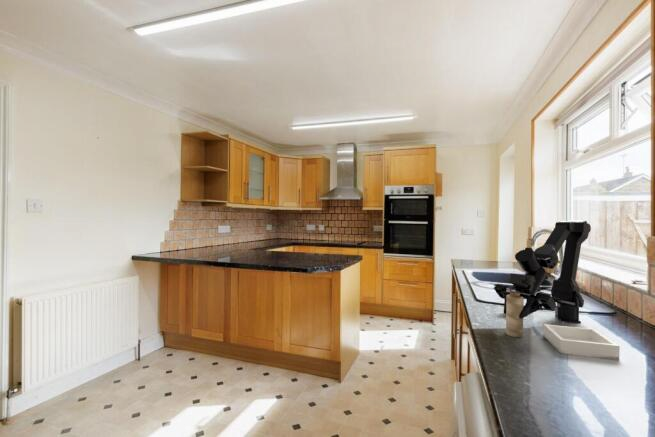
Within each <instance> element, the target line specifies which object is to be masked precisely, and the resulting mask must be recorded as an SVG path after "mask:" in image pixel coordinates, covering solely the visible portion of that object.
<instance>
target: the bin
mask: <svg viewBox="0 0 655 437" xmlns="http://www.w3.org/2000/svg"><path fill="white" fill-rule="evenodd" d="M543 338H545V339H546V340H547V341H548V342H549V343H550V344H551V345H552V346H553V347H554V349H555V350H557V351H558V352H559V353H560V354H564V355H571V354H572V355H573V356H579V357H588V358H589V357H590V358H598V359H606V360H613V361H620V345H619V344H617V343H616V342H614V341H613V340H611V339H610V338H608V337H607V336H605V335H604V334H602V333H600V332H599V331H598V330H596V329H595V328H589V327H588V328H586V327H577V326H565V325H557V324H547V323H543ZM572 355H571V356H572Z"/></svg>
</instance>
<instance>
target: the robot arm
mask: <svg viewBox="0 0 655 437" xmlns="http://www.w3.org/2000/svg"><path fill="white" fill-rule="evenodd" d="M591 230H592V227H591V224H590V223H588V221H586V220H566V221H565V220H561V221H560V220H559V221H557V222H555V226H554V228H553V230H552V231H551V233H550V234H549V236H548V238H547V239H546V240H545V242H544V243H543V245H541V246H540V247H537V248H535V250H534V249H533V248H532V247H525V248H524V249H521V250H519V251H518V252H516V253H515V255H514V259H515V260H516V262H517V263H518V265H519V267H520V268H521V270H522V271H524V272H525V273H524V275H523V274H517V273H511V272H510V274H509V277H508V280H507V283H509V284H512V287H513V289H515V290H513V289H511V288H510V287H509V285H508V284H504V283H503V284H502V283H496V284H495V286H493V290H494V291H495V293H496V294H497V296H498V297H499V298H501V299H503V300H504V303H503V304H504V305H503V314H504V315H506V295H510V291H516V292H520V296H522V297H524V300H526V302H525V304H524V306H523V309H522V311H521V313H520V315H519V318H520V319H522V318H523V319H524V318H526V317H528V316H529V315H531V314H534V313H535V312H538V311H543V309H544V310H547V311H551V312H554V317H555V318H556V319H558V320H559V321H560V322H564V323H576V324H581V323H582V321H580V308H584V304H585V300H584V298H583V296H582V294H581V292H580V286H579V284H578V283H577V280H576V279H577V273H578V266H579V261H580V255H581V254H580V253H581V248H582V244H583V243H584V242H585V241H586V240H587V239H588V238H589V234H590V232H591ZM564 243H565V246H564V252H563V257H562V258H563V259H562V263H561V270H560V275H559V277H557V279H554V280H553V281H552V286H551V290H550V293H546V292H541V290H542V288H541V285H542V284H543V282H544V280H549V275H548V272H547V271H546V269H549V270H551V269H552V270H553V269H554V268H555V267H556V266H557V265H558V262H559V254H558V253H559V251H560V250H561V248H562V246H563V244H564Z"/></svg>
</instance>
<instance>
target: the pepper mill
mask: <svg viewBox="0 0 655 437" xmlns="http://www.w3.org/2000/svg"><path fill="white" fill-rule="evenodd" d="M524 300H525V299H524V297H522V296H520V292H516V291H515V290H514V291H510V295H506V314H505V317H506V318H505V333H506V335H508V336H510V337H514V338H523V337H524V318H522V319H520V318H519V315H520V313H521V311H522V309H523V308H524V306H525V304H524Z"/></svg>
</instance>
